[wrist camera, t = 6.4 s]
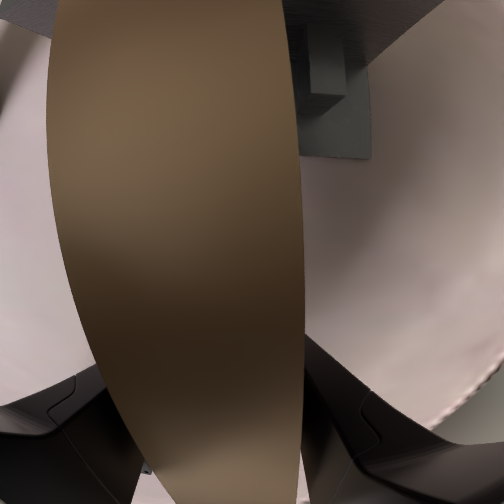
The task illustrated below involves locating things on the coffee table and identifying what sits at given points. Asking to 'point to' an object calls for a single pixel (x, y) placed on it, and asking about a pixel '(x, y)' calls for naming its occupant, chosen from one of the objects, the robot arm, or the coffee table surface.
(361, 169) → the coffee table surface
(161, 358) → the rail
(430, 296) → the coffee table surface
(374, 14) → the bracket
